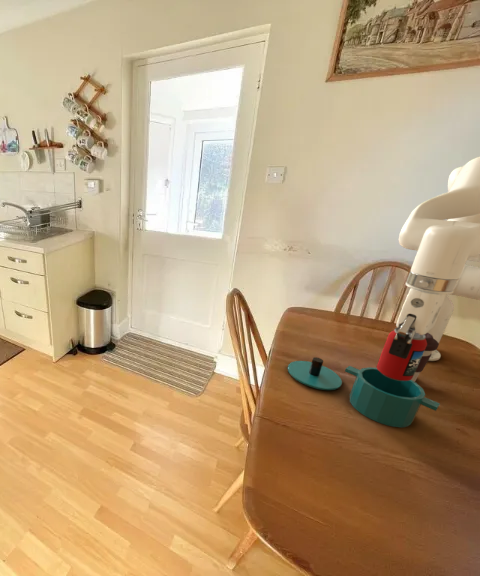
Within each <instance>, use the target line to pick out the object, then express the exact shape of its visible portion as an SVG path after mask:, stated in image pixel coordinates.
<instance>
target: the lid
mask: <svg viewBox="0 0 480 576" xmlns="http://www.w3.org/2000/svg"><path fill="white" fill-rule="evenodd" d="M323 364H324V359H322V358H320V357H317V356H314V357H312V360H311V361H307V360H294V361H291V362H290V363H289V364H288V365H287V372H288V373H289V375H290V376H291V377H292V378H293V379H295V381H298V382H299V383H301V384H302V385H304V386H307V387H310V388H313V389H317V390H321V391H322V390H323V391H334V390H338V389H340V388H341V386H342V384H343V381H342V380H343V379H342V378H341V377H340V375H338V373H337V372H335V371H334V370H332V369H330V368H329V367H327V366H325V365H323Z"/></svg>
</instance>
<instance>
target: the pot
mask: <svg viewBox="0 0 480 576" xmlns="http://www.w3.org/2000/svg"><path fill="white" fill-rule="evenodd" d="M344 372H345V373H348V374H350V375H353V376H354V377H355V379H354V382H353V385H352V388H351V391H350V393H349V397H348V400H349V403H350V404H351V406H352V407H353V408H354V409H355V410H356V411H357V412H358V413H360V414H361V415H363V416H365V417H366V418H368V419H370V420H372V421H374V422H377V423H379V424H381V425H385V426H389V427H393V428H407V427H409V426H411V425H412V424H413V422H414V421H415V419H416V416H417V414H418V413H419V410H420V408H421V406H422V407H423V406H424V407H426V408H428V409H430V410H433V411H435V412H436V411H437V410H438V409H439V407H440V405H441V403H440V402H438V401H435V400H432V399H430V398H428V397H426V393H425V389H424V388H423V387H422V386H420V385H419V384H418V383H417V382H416V381H415V382H414V381H412V380H408V381H398V380H394V379H391V378H388V377H386V376H384V375H383V374H382V373H381V372H380V371H379V370H378V369H377V367H372V366H369V367H362V368H361V369H359V368H357V367H354V366H352V365H348V366H347V367H346V368H345V370H344Z"/></svg>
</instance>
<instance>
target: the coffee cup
mask: <svg viewBox="0 0 480 576" xmlns="http://www.w3.org/2000/svg"><path fill="white" fill-rule="evenodd" d="M424 335H425V336H426V337H425V339H426V342H427V346H426V348H425V351H424V353H423V356H422V358H421V360H420V362H419V365H418V367H417V369H416V371H415V374H414V376H413V378H412V379H411V380H412V381H414V382H416V381H417V379H418V378H419V375H420V374H421V373H422V372H423V371H424V369H425V367H426V365H427V364H428V362H429V361H428V360H429V358H430V357H431V353H432V351H434V350H437V349H438V348H439V345H440V342H439V343H438V342H437V341H436V340H435V339H433V336H432V335H431V334H429V333H426V334H424Z"/></svg>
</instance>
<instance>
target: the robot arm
mask: <svg viewBox="0 0 480 576" xmlns="http://www.w3.org/2000/svg"><path fill="white" fill-rule="evenodd" d="M447 180H448V181H447V191H446V192H443V193H440V194H438V195H436V196H433V197H431V198H429V199H427V200H425V201H423V202H420V204H418V205H416V207H415V208H414V209H413V210H412V211H411V212H410V213H409V215H408V218H407V219H406V220H405V222H404V224H403V225H402V227H401V229H400V232H399V235H398V244H399V245H400V246H401V247H402V248H403V249H406V250H411V251H416V255H415V257H414V260H413V262H412V265H411V268H410V270H409V274H408V276H407V279H406V281H405V286H406V287H408V288H409V290H408V292H407V295H406V297H405V299H404V302H403V304H402V307H401V309H400V312H399V315H398V318H397V321H396V325H395V326H396V328H399V330H398V332H397V334H396V336H395V338H394V339H393V342H392V345H391V347H390V350H389V353H390V354H392V355H395V356H398V357H400V358H403V359H406V358H407V356H408V354H409V352H410V349H411V347H412V344H411V342H412V340H413V338H414V336H415V334H416V333H419V335H424V334H426V333H429V334H431V335H432V336H433V339H435V340H436V341H437V342H438V343H439V344H440V342H441V339H442V338H443V335H444V333H445V330H446V329H447V326H448V324H449V322H450V319H451V317H452V315H453V313H454V311H455V310H454V309H455V306H454V303H453V301H452V300H451V297H450V295H451V296H455V297H456V296H457V297H461V298H466V299H471V300H476V301H480V266H476V265H469V264H466V263H467V261H469V262H476V263H480V156H477V157H474V158H472V159H470V160H469V161H468V162H466V163H465V164H464V165H461V166H459V167H458V166H457V167H456V168H454V169H453V170H452V171H451V172H450V174H449V176H448V179H447ZM409 329H413V330H414V331H413V330H409ZM408 332H409V333H411V335H410V336H409V335H408ZM441 356H442V355H441V353H440V351H439V350H437V349H436V350H434V351H432V353H431V357H430V358H429V360H428V362H435V361H439V360H440V359H441Z"/></svg>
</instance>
